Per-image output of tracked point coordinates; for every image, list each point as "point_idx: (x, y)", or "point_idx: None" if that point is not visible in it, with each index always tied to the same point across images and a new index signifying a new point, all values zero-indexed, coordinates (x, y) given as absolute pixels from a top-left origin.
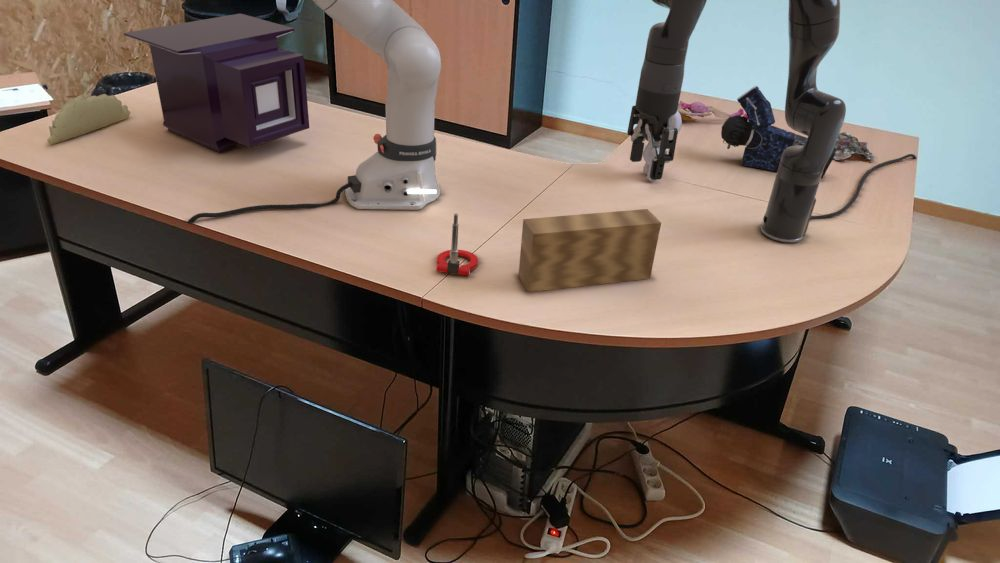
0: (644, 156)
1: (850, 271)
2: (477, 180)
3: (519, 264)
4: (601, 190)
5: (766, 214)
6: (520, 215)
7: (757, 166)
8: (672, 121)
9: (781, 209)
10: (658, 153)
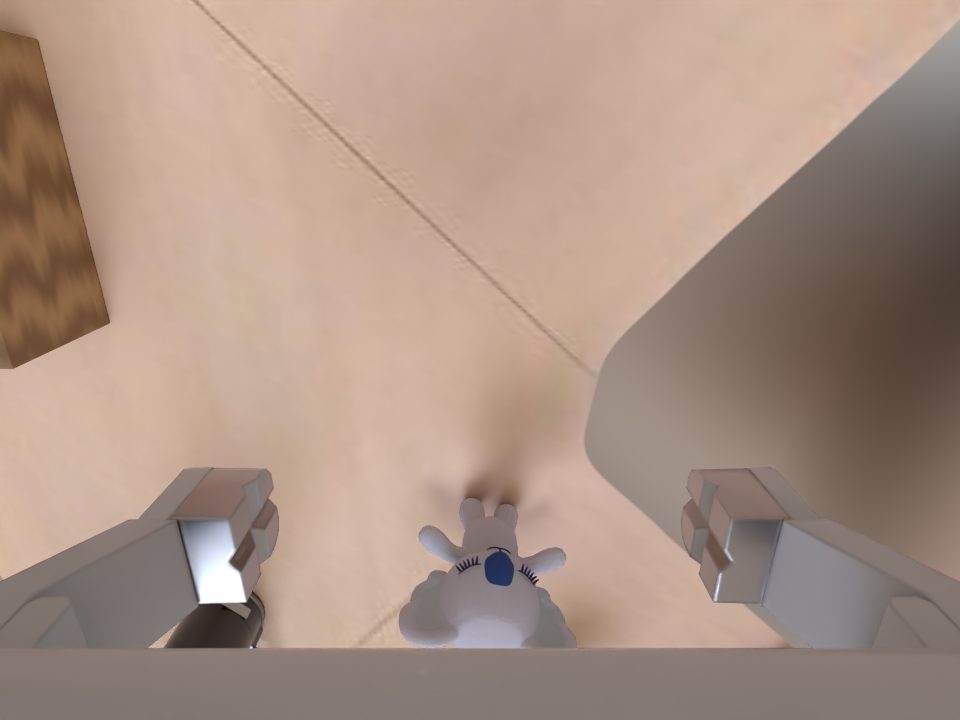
0: (487, 520)
1: None
2: (555, 92)
3: (10, 33)
4: (444, 385)
5: (220, 612)
6: (336, 147)
7: None
8: (406, 620)
9: (175, 636)
10: (422, 540)
